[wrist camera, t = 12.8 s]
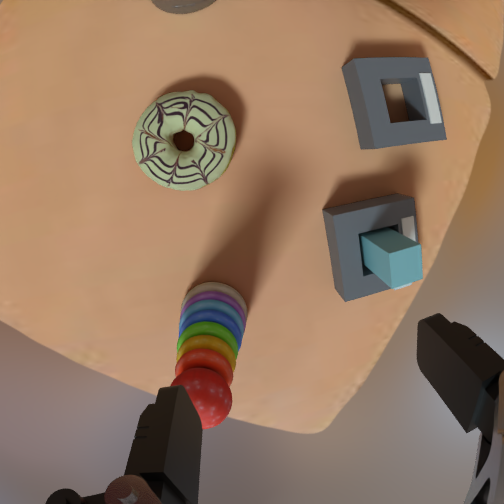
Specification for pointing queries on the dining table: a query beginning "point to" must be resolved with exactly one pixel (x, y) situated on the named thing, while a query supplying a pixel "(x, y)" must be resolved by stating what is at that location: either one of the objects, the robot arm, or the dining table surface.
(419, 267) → the plug
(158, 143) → the decorated donut
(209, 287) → the stacking toy
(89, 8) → the dining table surface
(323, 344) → the dining table surface
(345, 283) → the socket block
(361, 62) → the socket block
